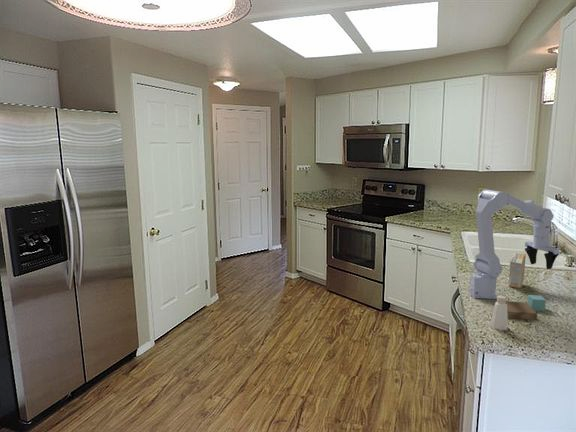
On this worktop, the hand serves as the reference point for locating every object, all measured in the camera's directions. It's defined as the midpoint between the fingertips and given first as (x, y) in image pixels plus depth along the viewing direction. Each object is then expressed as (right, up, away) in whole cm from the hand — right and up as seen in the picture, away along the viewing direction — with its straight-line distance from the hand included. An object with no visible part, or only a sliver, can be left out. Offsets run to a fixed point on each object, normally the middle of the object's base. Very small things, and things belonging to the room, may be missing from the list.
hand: (541, 266), depth 171 cm
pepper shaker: (-35, -17, -32) cm, 51 cm away
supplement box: (-6, -9, +7) cm, 13 cm away
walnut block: (-23, -15, -21) cm, 35 cm away
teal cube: (-13, -14, -17) cm, 26 cm away
